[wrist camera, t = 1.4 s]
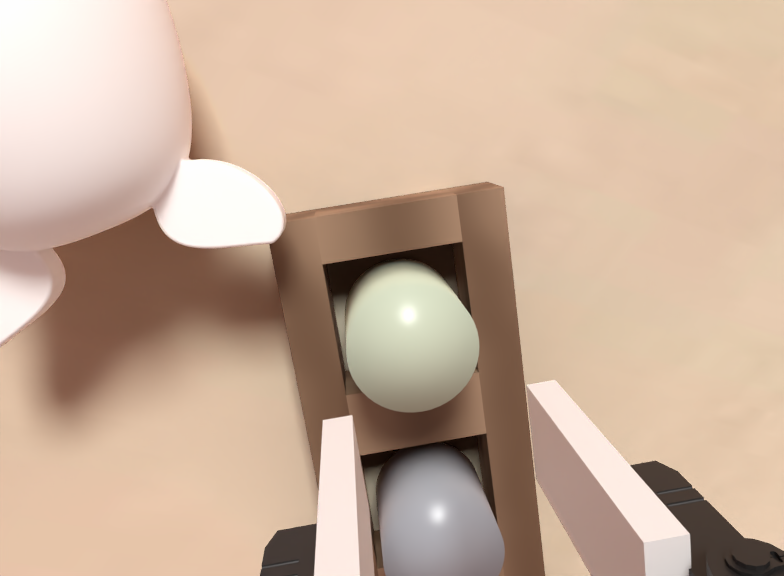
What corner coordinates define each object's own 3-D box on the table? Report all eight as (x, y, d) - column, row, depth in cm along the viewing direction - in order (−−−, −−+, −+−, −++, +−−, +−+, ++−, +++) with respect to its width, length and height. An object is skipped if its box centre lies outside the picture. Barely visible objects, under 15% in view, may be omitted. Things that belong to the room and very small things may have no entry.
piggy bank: (-59, -45, 27) (110, 272, 32) (-424, -80, 17) (-92, 400, 21) (184, -178, 24) (333, 200, 28) (-87, -330, 13) (222, 312, 18)
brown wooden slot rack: (369, 706, 36) (371, 757, 33) (273, 216, 29) (265, 225, 26) (542, 673, 37) (560, 720, 34) (487, 181, 30) (503, 187, 27)
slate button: (384, 542, 32) (392, 619, 27) (368, 451, 30) (374, 514, 25) (483, 524, 32) (510, 597, 27) (471, 433, 31) (497, 492, 26)
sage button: (354, 373, 30) (357, 422, 24) (336, 268, 28) (335, 297, 23) (461, 355, 30) (486, 400, 25) (447, 249, 29) (471, 275, 23)
